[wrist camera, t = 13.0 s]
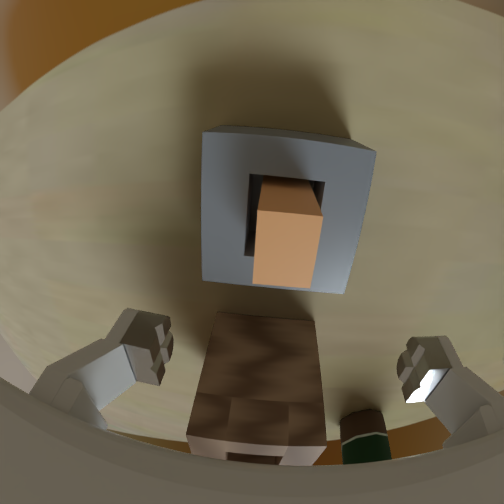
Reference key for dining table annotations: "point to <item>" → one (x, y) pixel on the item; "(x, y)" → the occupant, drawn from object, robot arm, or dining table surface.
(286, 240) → the peg
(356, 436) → the beer bottle
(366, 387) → the dining table surface
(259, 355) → the wood block with hole
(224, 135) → the low socket
